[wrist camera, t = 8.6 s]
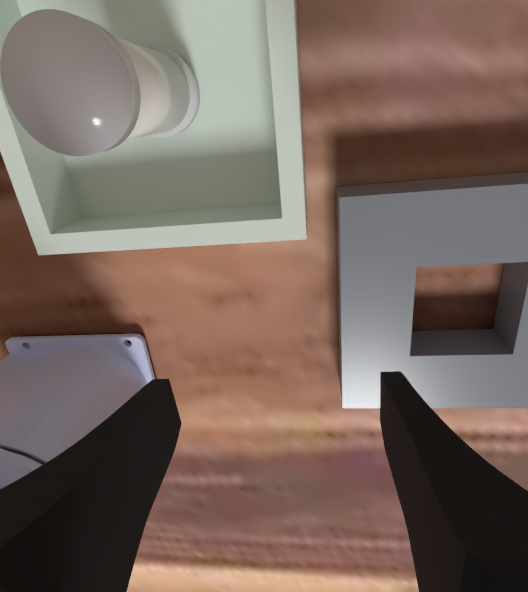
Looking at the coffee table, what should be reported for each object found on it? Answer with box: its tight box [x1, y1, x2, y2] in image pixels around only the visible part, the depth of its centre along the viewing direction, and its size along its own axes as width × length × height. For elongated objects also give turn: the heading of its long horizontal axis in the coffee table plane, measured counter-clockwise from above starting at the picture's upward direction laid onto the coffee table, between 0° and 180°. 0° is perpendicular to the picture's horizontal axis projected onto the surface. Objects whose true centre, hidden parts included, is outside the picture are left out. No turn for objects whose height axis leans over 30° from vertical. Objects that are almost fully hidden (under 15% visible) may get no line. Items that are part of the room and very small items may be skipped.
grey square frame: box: [336, 172, 528, 408], centre depth 20 cm, size 12×12×2 cm
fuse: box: [0, 9, 200, 157], centre depth 14 cm, size 4×4×8 cm
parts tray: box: [0, 0, 307, 255], centre depth 17 cm, size 13×13×4 cm
